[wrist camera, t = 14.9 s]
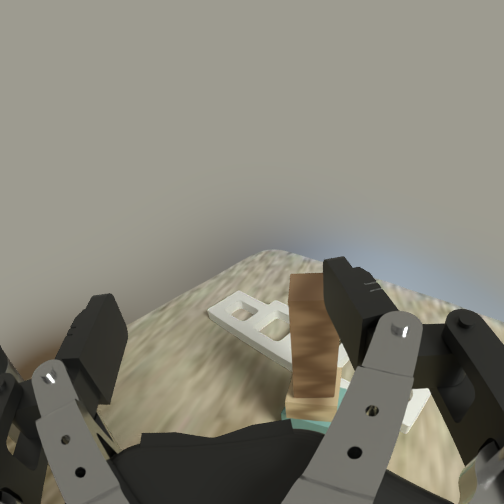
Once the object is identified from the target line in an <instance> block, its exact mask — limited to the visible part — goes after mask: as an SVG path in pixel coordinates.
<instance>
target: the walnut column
mask: <svg viewBox="0 0 504 504" xmlns="http://www.w3.org/2000/svg"><path fill="white" fill-rule="evenodd" d="M288 307H289V321H290V337H291V353H292V371H293V391H294V398H329V397H334V395H335V385H336V375H337V364H338V352H339V336H338V334H337V331H336V329H335V327H334V325H333V323H332V321H331V319H330V317H329V315H328V313H327V310H326V307H325V304H324V297H323V273H305V274H291V275H290V286H289V297H288Z"/></svg>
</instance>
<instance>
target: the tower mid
mask: <svg viewBox="0 0 504 504" xmlns="http://www.w3.org/2000/svg"><path fill="white" fill-rule="evenodd" d="M341 374H342V367H337V375H336V385H335V395H334V397H329V398H294V391H293V374H292V378H291V381H290V385H289V389H288V393H287V396H286V400H285V407H286V418H293V419H302V420H312V421H323V422H332V420H333V418H334V416H335V414H336V412H337V406H338V399H339V391H340V383H341Z"/></svg>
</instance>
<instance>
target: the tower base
mask: <svg viewBox="0 0 504 504" xmlns="http://www.w3.org/2000/svg"><path fill="white" fill-rule="evenodd" d="M346 391H347V389H345V388H341V387H340V391H339V399H338V406H337V410H338V408H339V406H340V404H341V402H342V399H343V397H344V395H345V393H346ZM281 418H282V420H285V419H291V423H292V427H293V429H307V430H312V431H317V432H320V433H323V434H326V432H327V430H328V428H329V426H330V424H331V422H323V421H312V420H302V419H293V418H286V407H284V409H283V411H282V412H281Z"/></svg>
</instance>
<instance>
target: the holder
mask: <svg viewBox="0 0 504 504" xmlns="http://www.w3.org/2000/svg"><path fill="white" fill-rule="evenodd" d="M238 309H244V310H246V311H248V312H250V313H251V314H253V316H252V317H250V318H249V319H247V320H246V321H240V320H239V319H237V318H235V317H234V316H232V315H231V314H232V313H233V312H235V311H236V310H238ZM207 311H208V315H209V319H211V320H212V321H214V322H215V323H217V324H218V325H219V326H221V327H222V328H224V329H225V330H227V331H228V332H230V333H231V334H233V335H234V336H236V337H237V338H239V339H240V340H242V341H243V342H245V343H247V344H248V345H250V346H251V347H253V348H254V349H256V350H257V351H259V352H261V353H262V354H264V355H265V356H267V357H268V358H270V359H272V360H273V361H275V362H276V363H278V364H280V365H281V366H283V367H285V368H286V369H288V370H290V371H291V372H293V371H292V353H291V337H290V333H289V334H288V335H287V336H285V337H284V338H283V339H282V340H280V341H274V340H272V339H271V338H269V337H267V336H266V335H264V334H262V333H260V332H259V331H260V330H261V329H262V328H264V327H265V326H267V325H268V324H269V323H271V322H272V321H273V320H275V319H281V320H283V321H284V322H286V323H288V324H290V321H289V307H288V305H286V304H283V303H281V302H279V301H277V300H275V301H273V302H272V303H270V304H269V305H267V304H265V303H263V302H261V301H259V300H257V299H255V298H253V297H251V296H249V295H247V294H245V293H243V292H241V291H237V292H235V293H233V294H232V295H230V296H228V297H227V298H225V299H224V300H222V301H220V302H219V303H217V304H215V305H214V306H212V307H210V308H209V309H207ZM339 339H340V338H339ZM348 360H349V357H348V355H347V353H346V351H345V348H344V346H343V344H342V343H341V344H340V345H339V352H338V364H337V367H343V366H344V365H345V364H346V363H347V361H348ZM349 384H350V382H348V381H347V380H345V379H343V378H341V383H340V387H341V388H345V389H348V386H349ZM430 395H431V393H430V391H429V389H428V388H425V389H412V390H411V393H410V397H409V399H410V401H409V402H408V405H407V408H406V412H405V415H404V419H403V422H402V425H401V428H400V432H402V433H404V434H406V433H408V431H409V430H410V428H411V427H412V425H413V424H414V422H415V420H416V419H417V417H418V416H419V414H420V412H421V411H422V409H423V407H424V405H425V404H426V402H427V400H428V398H429V397H430Z"/></svg>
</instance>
